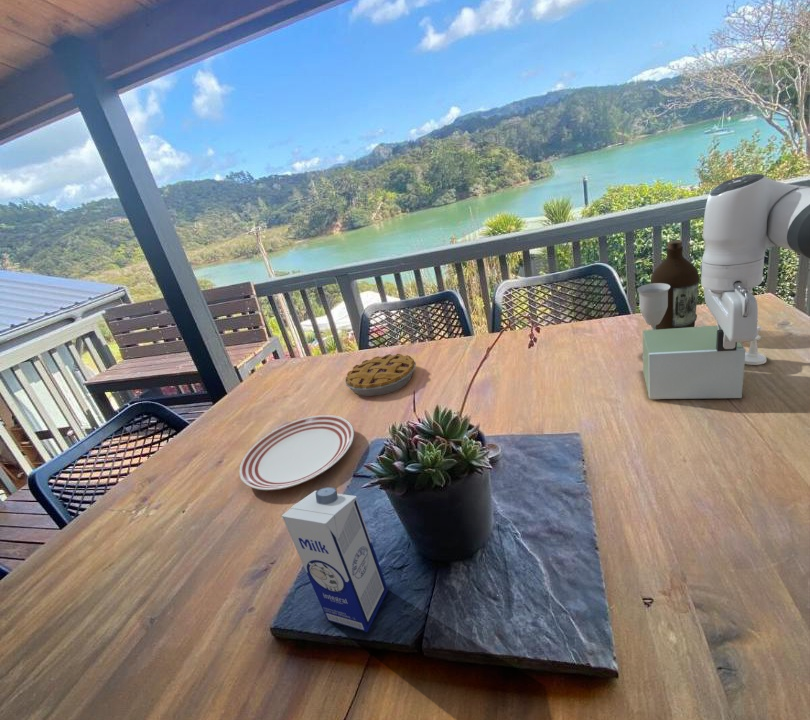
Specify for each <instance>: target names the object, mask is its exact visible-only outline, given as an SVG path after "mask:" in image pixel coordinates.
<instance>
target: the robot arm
mask: <svg viewBox="0 0 810 720" xmlns="http://www.w3.org/2000/svg"><path fill="white" fill-rule="evenodd" d="M702 225H703V226H702V227H703V228H702V239H703V242H704V251H703V254H702V257H701V263H700V266H699V271H700V272H699V273H700V276H701V277H700V285H701V287H702V288H703V296H704V297H703V298H704V302H705V306H706V307H707V309H708V311H709V312H710V313H711V315H712V316H713V318H714V320H715V322H716V325H718V330H723V332H724V337H723V338H722V345H723V347H724V348H725V349H733V348H735V344H736V342H740V343H748V342H750V343H751V341H754V340H755V338H756V336H757V325H758V322H757V320H758V318H759V317H758V315H759V314H758V313H759V311H758V310H759V308H758V301H757V298H756V296H755V295H754V294H753V293H752V292H753V288H755V287H758V286H759V285H761V284H762V283H763V274H764V265H765V256H766V255H765V253H766V251H767V250H768V249H769V248H773V247H778V248H781V249H786V250H789V251H792V252H795V253H797V254H798V255H801V256H803V257H805V258H807V259H810V186H807V185H806V186H805V185H798V184H789V183H785V182H781V181H776V180H774V179H772V178H769V177H767V176H766V175H765V174H762V173H752V174H746V175H745V174H744V175H742V176H738V177H737V176H736V177H733V178H731V179H728V180H726V181H724V182H721V183H719V184H718V185H716V186H715V187H714V188H713V189H712V190H711V191H710V192H709V194H708V197H707V200H706V203H705V208H704V216H703V224H702ZM758 321H759V320H758Z"/></svg>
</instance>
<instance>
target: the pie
mask: <svg viewBox="0 0 810 720" xmlns="http://www.w3.org/2000/svg"><path fill="white" fill-rule="evenodd" d="M416 366H417V363H416V361H415V360H414V358H412V356H411V355H408V354H407V355H403V354H401V353H396V354H391V353H389V354H385V355H384V356H379V355H378V356H374V357H372V358H371V359H365V360H363V361H362V362H361V363H360V364H356V365H354V366H352V370H350V371H348V372H347V374H346V377H345V381H344V382H345V385H346V387H347V388H349V389H350V390H351V391H352V392H353V393H354V394H357V395H360V396H366V397H374V396H382V395H387V394H390V393H394V392H396V391H398V390H400V389H401V388H403V387H406V385H407V384H408V383H409V382H410V381H411V380H412V376H413V373H414V371H415V368H416Z"/></svg>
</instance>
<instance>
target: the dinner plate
mask: <svg viewBox="0 0 810 720" xmlns="http://www.w3.org/2000/svg"><path fill="white" fill-rule="evenodd" d="M354 437H355V431H354V427H353V425H352V424H351V422H349V420H347V419H346V418H344V417H341V416H339V415H331V414H325V415H324V414H323V415H322V414H321V415H312V416H308V417H304V418H303V417H302V418H300V419H297V420H293V421H291V422H289V423H286V424H284V425H282V426H280V427H278V428H276V429H274V430H272V431H271V432H269V433H267V434H265V436H264V437H262V438H261V439H260V440H257V442H256V443H255V444H254V445H253V446H252V447H250V448H249V450H248V451H247V452H246V454H245V455H244V456H243V459H242V460H241V463H240V465H239V477H240V480H241V481H242V483H243V484H245V485H246V486H247V487H249V488H251V489H255V490H258V491H276V490H277V491H278V490H285V489H289V488H292V487H295V486H298V485H300V484H303V483H306V482H308V481H310V480H313V479H314V478H316V477H318V476H320V475H322V474H323V473H325V472H326V471H328V470H329V469H331V467H333V466H334V465H335V464H337V463H338V462H339V461H340V460H341V459H342V458H343V457H344V456H345V455H346V454H347V452H348V450H349V449H350V448H351V446H352V444H353V442H354Z"/></svg>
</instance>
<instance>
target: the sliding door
mask: <svg viewBox="0 0 810 720" xmlns="http://www.w3.org/2000/svg"><path fill="white" fill-rule="evenodd" d="M723 337H724V332H723V330H717V338H716V350H696V351H676V352H656V353H649V396H648V399H649V400H677V399H678V400H681V399H683V400H685V399H691V400H692V399H696V400H697V399H742V397H743V385H744V375H745V365H746V364H745V353H747V351H746V348H745V347H743V348H737V342H736V344H735V348H733V349H725V348H724V347H723V345H722V338H723ZM736 348H737V349H736Z"/></svg>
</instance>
